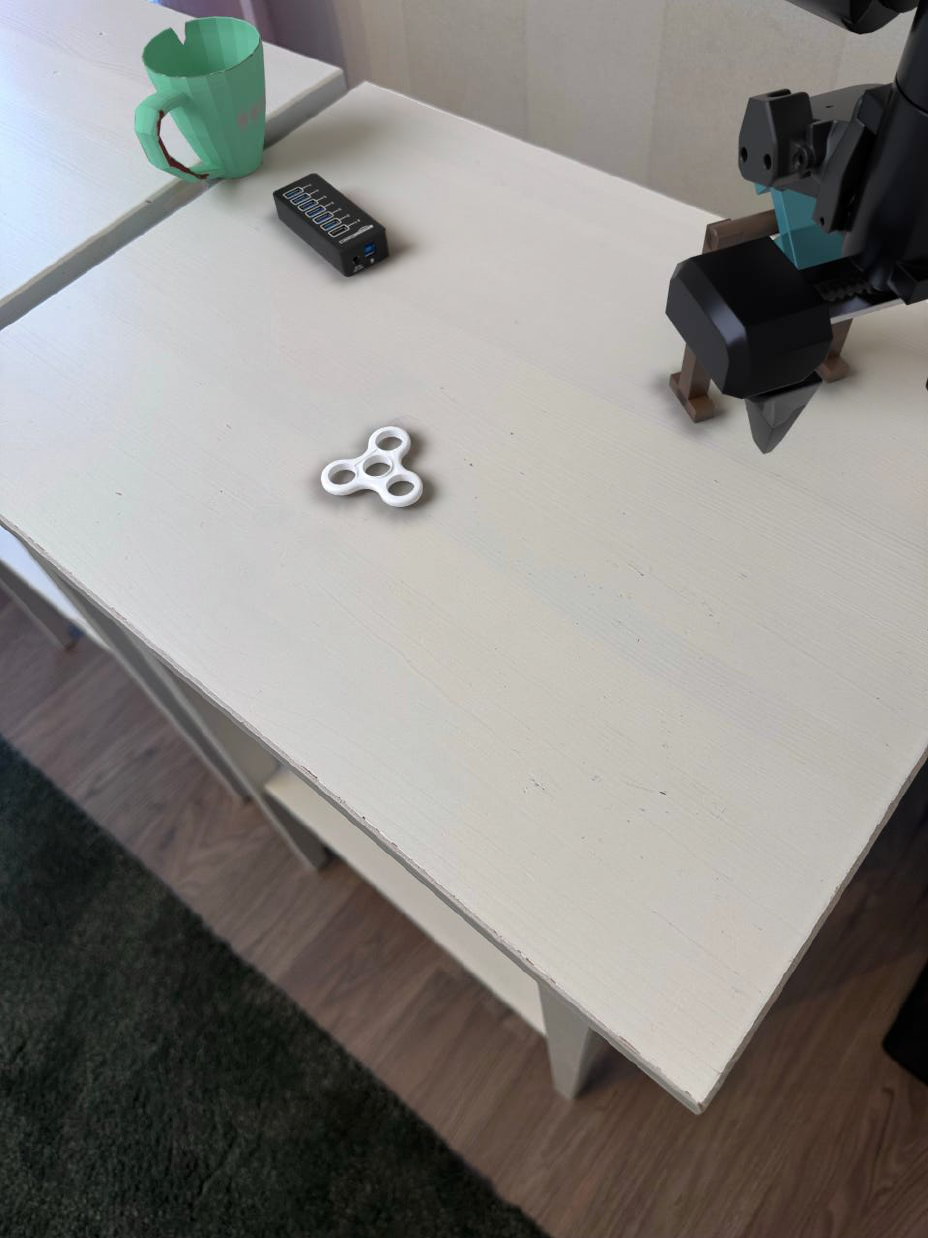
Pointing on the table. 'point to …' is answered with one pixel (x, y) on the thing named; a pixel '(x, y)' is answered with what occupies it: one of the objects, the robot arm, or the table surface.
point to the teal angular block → (801, 229)
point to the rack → (693, 376)
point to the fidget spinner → (377, 482)
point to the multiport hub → (331, 224)
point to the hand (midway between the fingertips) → (848, 419)
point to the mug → (206, 97)
